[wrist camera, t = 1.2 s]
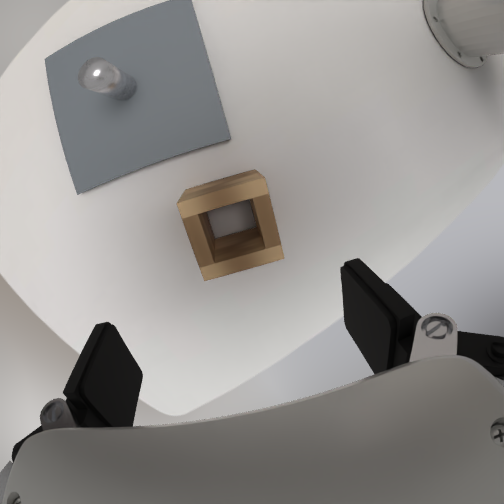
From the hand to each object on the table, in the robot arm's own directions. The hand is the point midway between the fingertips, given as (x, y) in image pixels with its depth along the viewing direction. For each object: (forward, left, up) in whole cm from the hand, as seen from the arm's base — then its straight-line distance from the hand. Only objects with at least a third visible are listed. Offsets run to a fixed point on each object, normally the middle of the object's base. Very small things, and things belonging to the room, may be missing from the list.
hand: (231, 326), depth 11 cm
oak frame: (-1, +1, -19) cm, 19 cm away
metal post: (+5, -14, -17) cm, 23 cm away
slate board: (+5, -14, -19) cm, 24 cm away
